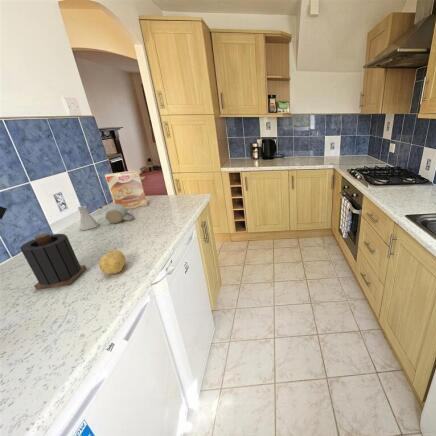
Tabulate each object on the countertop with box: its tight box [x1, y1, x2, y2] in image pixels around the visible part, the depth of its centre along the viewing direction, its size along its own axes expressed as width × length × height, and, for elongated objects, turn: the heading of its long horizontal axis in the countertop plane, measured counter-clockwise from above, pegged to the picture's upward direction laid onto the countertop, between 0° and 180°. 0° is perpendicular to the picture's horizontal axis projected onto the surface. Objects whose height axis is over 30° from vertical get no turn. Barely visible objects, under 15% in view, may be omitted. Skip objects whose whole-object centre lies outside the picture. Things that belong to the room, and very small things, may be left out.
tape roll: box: [19, 233, 81, 285], centre depth 74 cm, size 10×10×12 cm
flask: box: [77, 205, 100, 231], centre depth 112 cm, size 7×7×10 cm
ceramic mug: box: [105, 203, 135, 224], centre depth 119 cm, size 11×8×8 cm
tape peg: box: [33, 232, 87, 290], centre depth 74 cm, size 9×9×16 cm
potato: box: [98, 249, 127, 275], centre depth 80 cm, size 7×11×6 cm, turn 22°
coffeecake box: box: [104, 169, 148, 210], centre depth 134 cm, size 15×7×20 cm, turn 132°
